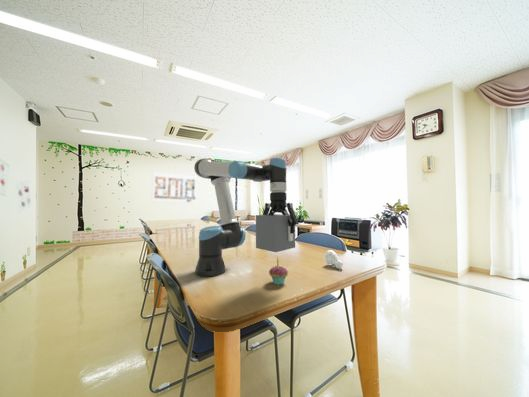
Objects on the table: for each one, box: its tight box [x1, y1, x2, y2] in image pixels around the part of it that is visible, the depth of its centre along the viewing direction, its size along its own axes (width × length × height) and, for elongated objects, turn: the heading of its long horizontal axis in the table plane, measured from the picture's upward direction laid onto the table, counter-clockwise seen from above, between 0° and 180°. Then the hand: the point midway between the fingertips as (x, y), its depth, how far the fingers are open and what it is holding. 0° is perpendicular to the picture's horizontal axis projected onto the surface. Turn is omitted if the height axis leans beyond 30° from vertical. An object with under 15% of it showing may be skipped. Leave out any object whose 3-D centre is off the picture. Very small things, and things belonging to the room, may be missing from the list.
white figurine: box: [324, 249, 344, 270], centre depth 115 cm, size 6×8×12 cm
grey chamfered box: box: [255, 213, 296, 253], centre depth 91 cm, size 12×13×15 cm
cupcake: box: [268, 257, 289, 286], centre depth 92 cm, size 9×8×12 cm
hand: (278, 239), depth 93 cm, fingers closed on grey chamfered box, 12 cm apart
